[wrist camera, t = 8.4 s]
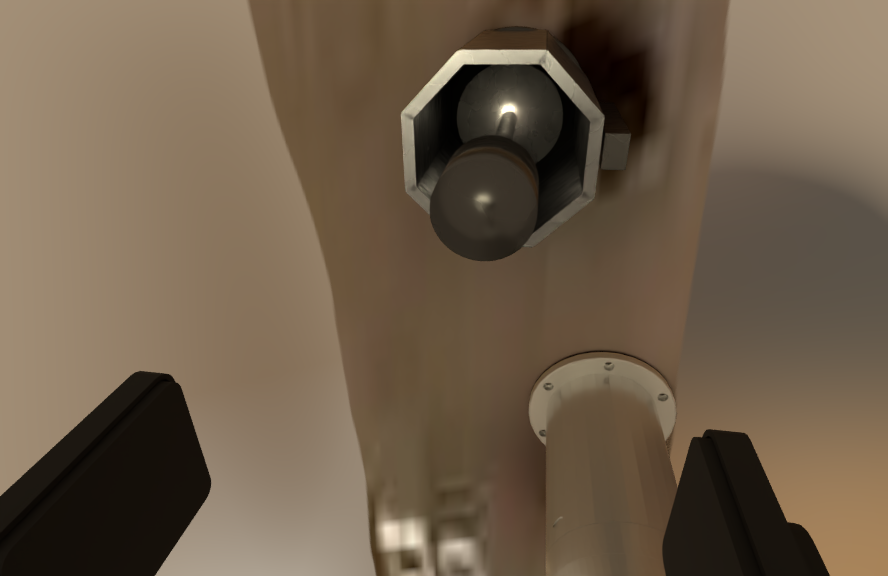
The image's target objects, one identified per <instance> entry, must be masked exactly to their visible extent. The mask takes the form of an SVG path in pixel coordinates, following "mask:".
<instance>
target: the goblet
mask: <svg viewBox="0 0 888 576" xmlns="http://www.w3.org/2000/svg"><path fill="white" fill-rule="evenodd" d="M562 122H563V109H562V102H561V98H560V95H559V92H558V90H557V88H556V86H555V85H554V83H553V82H552V81H551V79H550V78H549V77H548V76H547V75H546V74H545V73H544V72H542V71H541V70H540V69H538V68H536V67H534V66H532V65H530V64H494V65H491V66H489V67H487V68H485V69H484V70H482V71H481V72H479V73H478V74H477V75H476V76H475V77H474V78H473V79H472V80H471V81H470V83H469V84H468V85H467V87H466V88H465V90H464V91H463V94H462V96H461V98H460V101H459V104H458V110H457V126H458V131H459V135H460V138H461V140H462V142H463V145H462V146H460V147H459V148H458V149H457V150H456V151H455V153H454V154H453V155H452V157H451V158H450V160H449V162H448V164H447V166H446V167H445V169H444V171H443V173H442V175H441V176H440V178H439V180H438V182H437V184H436V186H435V188H434V190H433V192H432V195H431V199H430V209H429V211H430V218H431V223H432V225H433V228H434V230H435V232H436V234H437V236H438V237H439V238H440V240H441V241H442V242H443V243H444V244H445V245H446V246H447V247H448V248H449V249H450V250H452V251H453V252H455V253H456V254H458V255H460V256H462V257H465V258H468V259H472V260H477V261H493V260H498V259H502V258H505V257H507V256H509V255H511V254H513V253H515V252H516V251H518V250H519V249H520V248H521V247H522V246H523V245H524V244H525V243H526V242H527V241H528V239H529V238H530V236H531V235H532V233H533V230H534V228H535V225H536V221H537V211H538V187H539V177H538V171H537V167H536V165H535V163H537V162H539V161H540V160H541V159H542V158H544V157H545V156H546V155H547V154H548V153H549V152H550V150H551V149H552V148H553V146H554V145H555V143H556V141H557V139H558V137H559V135H560V131H561V128H562Z"/></svg>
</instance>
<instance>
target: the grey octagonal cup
mask: <svg viewBox="0 0 888 576" xmlns="http://www.w3.org/2000/svg"><path fill="white" fill-rule="evenodd" d="M494 64H530V65H532V66H534V67H536V68H538V69H540V70H541V71H542V72H544V73H545V74H546V75H547V76H548V77H549V78H550V79H551V81H552V82H553V83H554V85H555V86H556V88H557V90H558V92H559V95H560V98H561V102H562V109H563V122H562V128H561V131H560V135H559V137H558V139H557V141H556V143H555V145H554V146H553V148H552V149H551V150H550V152H549V153H548V154H547V155H546V156H545V157H544V158H542V159H541V160H540V161H539V162H537V163H535V165H536V167H537V171H538V177H539V187H538V211H537V221H536V225H535V228H534V230H533V233H532V235H531V236H530V238H529V239H528V241H527V242H526V243H525V244H524V245H523V246H522V247H532V246H533V247H534V246H535V245H537V244H538V243H539V242H541V241H542V240H543V239H544V238H546V237H547V236H548V235H549V234H551V233H552V232H553V231H554V230H556V229H557V228H558V227H559V226H561V225H562V224H563V223H565V222H566V221H567V220H568V219H570V218H571V217H572V216H573V215H575V214H576V213H577V212H578V211H580V210H581V209H582V208H583V207H585V206H586V205H587V204H588V203H590V202H591V201H592V200H594V199H593V198H594V197H595V189H596V181H597V173H598V165H600V168H601V169H607V170H625V169H626V163H627V156H628V150H629V143H630V137H631V133H630V131H629V130H628V128H627V126H626V124H625V122H624V121H623V119H622V117H621V115H620V113H619V112H618V110H617V108H616V106H615V105H614V103H601V102H598V101H597V98H596V96H595V94H594V91H593V89H592V87H591V84H590V82H589V80H588V77H587V76H586V75H585V74H584V72H583V71H582V70H581V67H580V66H579V64H578V62H577V60H576V58H575V57H574V56H573V54H572V53H571V52H570V50H569V49H568V48H567V47H566V46H565V45H564V44H563V43H561V42H560V41H559V40H558V39H556V38H555V37H553V36H552V35H551V34H550V33H549V31H548V30H538V29H534V28H530V27H522V26H511V27H503V28H499V29H495V30H485V31H483V32H482V33H480V34H479V35H478V36H476V37H475V38H474V39H472V40H471V41H470V42H468V43H467V44H466V45H464V46H463V47H462V48H460V49H459V50H458V51H457V52H456V53H455V54H454V55H453V56H452V57H451V58H450V59H449V60H448V62H447V63H446V64H445V65H444V66H443V67H442V68H441V69H440V70H439V71H438V73H437V74H436V75H435V76H434V77H433V78H432V79H431V80H430V81H429V83H428V84H427V85H426V86H425V87H424V88H423V89H422V90H421V91H420V93H419V94H418V95H417V96H416V97H415V98H414V99H413V100H412V101H411V102H410V104H409V105H408V106H407V107H406V108H405V109H404V110H403V111H402V113H401V123H402V141H403V160H404V178H405V191H406V193H407V194H408V195H409V196H411V197H412V198H413V199H414V200H415V201H416V202H417V203H418V204H419V205H420V206H421V207H422V208H423V209H424V210H425V211H426V212H427V213H428V214H429V215H430V211H429V209H430V199H431V195H432V192H433V190H434V188H435V186H436V184H437V182H438V180H439V178H440V176H441V175H442V173H443V171H444V169H445V167H446V166H447V164H448V162H449V160H450V158H451V157H452V155H453V154H454V153H455V151H456V150H457V149H458V148H459V147H460V146H462V145H463V142H462V140H461V138H460V135H459V131H458V126H457V110H458V104H459V101H460V98H461V96H462V94H463V91H464V90H465V88H466V87H467V85H468V84H469V83H470V81H471V80H472V79H473V78H474V77H475V76H476V75H477V74H478V73H479V72H481V71H482V70H484V69H485V68H487V67H489V66H491V65H494Z"/></svg>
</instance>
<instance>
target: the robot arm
mask: <svg viewBox="0 0 888 576" xmlns="http://www.w3.org/2000/svg"><path fill="white" fill-rule="evenodd" d="M676 415H677V410H676V403H675V399H674V396H673V393H672V390H671V388H670V387H669V385H668V383H667V381H666V380H665V379H664V378H663V377H662V376H661V375H660V373H659V372H658V371H656V370H655V369H654V368H652V367H651V366H649V365H648V364H646V363H644V362H642V361H640V360H638V359H636V358H633V357H630V356H626V355H623V354H618V353H609V352H591V353H585V354H580V355H575V356H573V357H570V358H567V359H564V360H562V361H560V362H559V363H557V364H555V365H553V366H552V367H550V368H549V369H548V370H547V371H546V372H544V373H543V374H542V375H541V377H540V378H539V379H538V380H537V382H536V383H535V385H534V387H533V389H532V391H531V395H530V400H529V418H530V424H531V426H532V428H533V430H534V433H535V434H536V435H537V437H538V438H539V440H540V441H541V442H542V443H543V444H544V445H545V446H546V576H830V575H829V573H828V571H827V569H826V566H825V564H824V562H823V560H822V558H821V556H820V554H819V552H818V550H817V548H816V546H815V544H814V542H813V540H812V538H811V537H810V535H809V533H808V532H807V531H806V530H805V529H804V528H803V527H802V526H801V525H799V524H795V523H789V522H787V521H786V518H785V516H784V514H783V512H782V510H781V507H780V505H779V503H778V501H777V498H776V496H775V494H774V492H773V490H772V487H771V485H770V483H769V480H768V478H767V476H766V474H765V472H764V469H763V467H762V465H761V463H760V460H759V458H758V457H757V454H756V452H755V449H754V447H753V445H752V442H751V440H750V439H749V437H748V435H746V434H745V433H740V432H730V431H720V430H711V429H709V430H706V431H705V432H704V434H703V437H702V438H701V437H693V438H692V440H691V443H690V447H689V450H688V454H687V457H686V461H685V464H684V468H683V471H682V475H681V478H680V482H679V485H678V488H677V484H676V480H675V476H674V473H673V469H672V465H671V461H670V457H669V454H668V450H667V446H666V442H665V441H666V440H667V438H668V437H669V436H670V434H671V433H672V430H673V428H674V425H675V423H676ZM210 488H211V478H210V475H209V472H208V469H207V466H206V463H205V459H204V456H203V453H202V450H201V447H200V444H199V441H198V438H197V435H196V432H195V429H194V426H193V422H192V419H191V416H190V413H189V410H188V407H187V404H186V401H185V398H184V395H183V392H182V389H181V386H180V385H179V384H178V383H176V382H175V381H174V379H173V377H172V376H171V375H169V374H164V373H154V372H144V371H139V372H135V373H134V374H132V375H131V376H130V377H129V378H128V379H127V380H125V382H123V383H122V384H121V385H120V386H119V387H118V388H117V389H116V390H115V391H114V392H113V393H111V394H110V395H109V396H108V397H107V398H106V399H105V400H104V401H103V402H102V403H101V404H100V405H98V407H96V408H95V409H94V410H93V411H92V412H91V413H90V414H89V415H88V416H87V417H86V418H84V419H83V421H81V422H80V423H79V424H78V425H77V426H76V427H75V428H74V429H73V430H71V431H70V432H69V433H68V434H67V435H66V436H65V437H64V438H63V439H62V440H61V441H60V442H58V443H57V444H56V445H55V446H54V447H53V448H52V449H51V450H50V451H49V452H48V453H47V454H46V455H45V456H43V457H42V458H41V459H40V460H39V461H38V462H37V463H36V464H35V465H34V466H33V467H31V468H30V469H29V470H28V471H27V472H26V473H25V474H24V475H23V476H22V477H21V478H20V479H19V480H17V482H15V483H14V484H13V485H12V486H11V487H10V488H9V489H8V490H7V491H6V492H4V493H3V494H2V495H1V496H0V576H155V575H156V573H157V571H158V570H159V569H160V567H161V566H162V564H163V562H164V561H165V560H166V558H167V557H168V555H169V554H170V552H171V551H172V549H173V548H174V546H175V545H176V543H177V542H178V540H179V539H180V537H181V536H182V534H183V533H184V531H185V530H186V528H187V527H188V525H189V524H190V522H191V521H192V519H193V518H194V516H195V515H196V513H197V512H198V510H199V509H200V508H201V506H202V504H203V503H204V502H205V500H206V498H207V497H208V494H209V492H210Z"/></svg>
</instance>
